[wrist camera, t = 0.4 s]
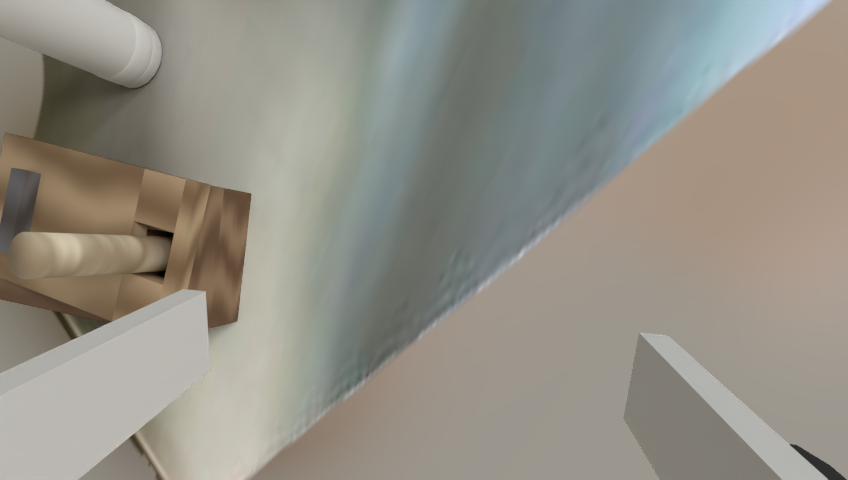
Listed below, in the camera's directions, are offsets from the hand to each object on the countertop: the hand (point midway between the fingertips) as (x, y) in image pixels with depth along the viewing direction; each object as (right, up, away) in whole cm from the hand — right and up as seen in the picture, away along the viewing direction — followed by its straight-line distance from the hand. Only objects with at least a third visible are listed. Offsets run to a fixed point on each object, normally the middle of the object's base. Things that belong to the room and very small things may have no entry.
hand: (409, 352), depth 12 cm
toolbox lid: (-31, +4, +26) cm, 41 cm away
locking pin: (-23, +2, +28) cm, 36 cm away
